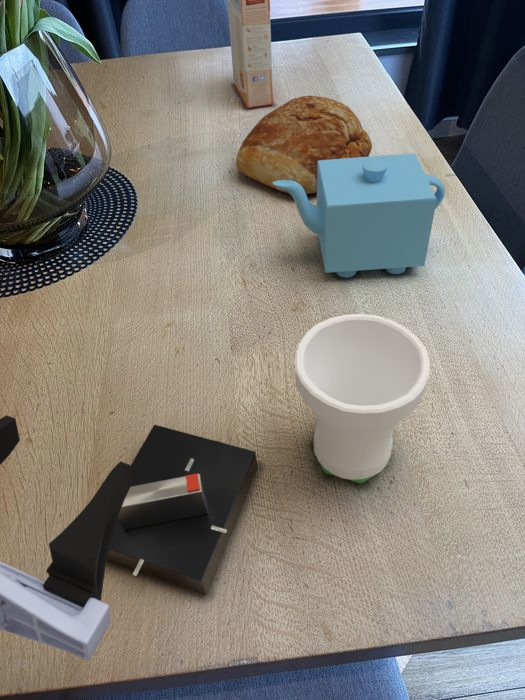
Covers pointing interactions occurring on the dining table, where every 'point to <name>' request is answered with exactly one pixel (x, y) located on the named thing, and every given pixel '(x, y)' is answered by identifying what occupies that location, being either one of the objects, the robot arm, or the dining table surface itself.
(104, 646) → the dining table surface
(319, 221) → the teapot
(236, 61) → the cracker box
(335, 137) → the bread
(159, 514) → the red-topped metal block
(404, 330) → the cup
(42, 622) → the robot arm
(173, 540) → the switch base
